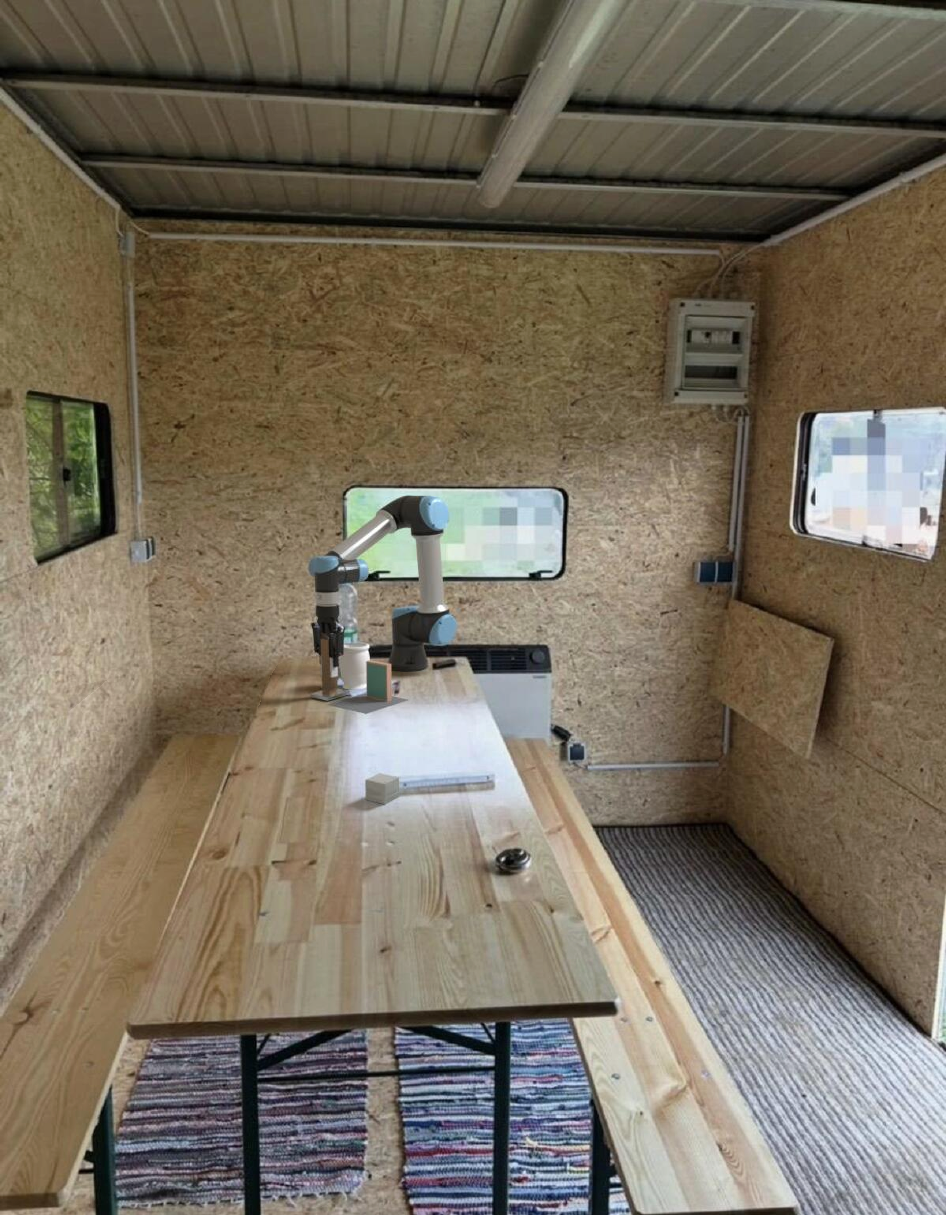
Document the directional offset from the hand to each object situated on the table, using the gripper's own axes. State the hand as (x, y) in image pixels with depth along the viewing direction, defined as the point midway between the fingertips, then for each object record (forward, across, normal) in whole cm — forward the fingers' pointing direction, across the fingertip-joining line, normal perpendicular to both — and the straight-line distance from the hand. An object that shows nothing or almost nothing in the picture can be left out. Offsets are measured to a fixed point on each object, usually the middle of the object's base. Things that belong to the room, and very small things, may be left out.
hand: (329, 675), depth 281 cm
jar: (+8, -3, +15) cm, 17 cm away
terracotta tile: (+7, +14, +8) cm, 18 cm away
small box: (+7, +72, -54) cm, 90 cm away
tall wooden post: (+7, 0, 0) cm, 7 cm away
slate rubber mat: (+8, +14, +3) cm, 17 cm away
